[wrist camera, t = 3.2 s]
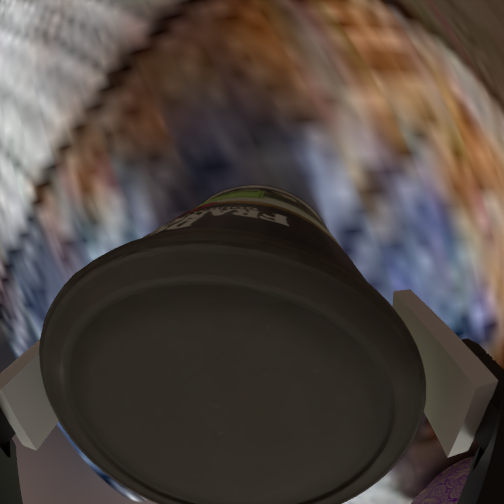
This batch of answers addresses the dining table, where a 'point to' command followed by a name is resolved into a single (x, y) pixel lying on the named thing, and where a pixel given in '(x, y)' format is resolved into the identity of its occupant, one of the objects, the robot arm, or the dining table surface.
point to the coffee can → (233, 360)
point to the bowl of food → (446, 485)
